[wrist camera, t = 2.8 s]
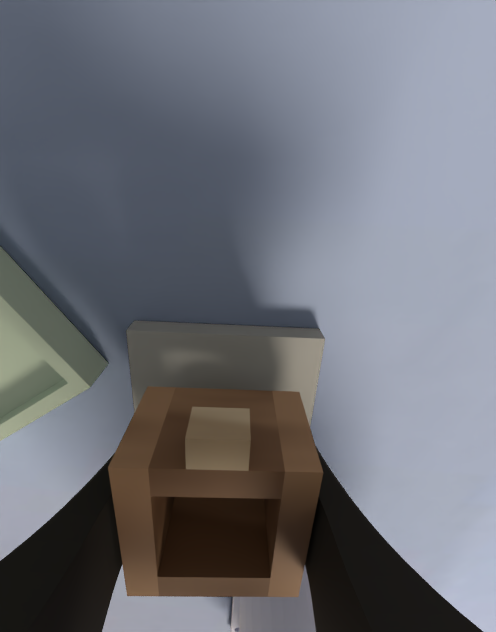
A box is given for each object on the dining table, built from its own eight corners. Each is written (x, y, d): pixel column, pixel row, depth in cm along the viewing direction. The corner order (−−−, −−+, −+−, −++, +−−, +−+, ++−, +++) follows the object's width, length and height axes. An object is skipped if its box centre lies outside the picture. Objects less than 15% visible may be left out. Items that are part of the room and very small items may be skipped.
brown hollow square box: (284, 497, 13) (298, 596, 10) (155, 495, 13) (127, 596, 10) (302, 368, 11) (329, 442, 8) (145, 362, 11) (103, 436, 7)
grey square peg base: (297, 464, 16) (311, 531, 13) (146, 460, 16) (122, 528, 13) (319, 328, 13) (344, 372, 10) (134, 320, 13) (98, 362, 10)
